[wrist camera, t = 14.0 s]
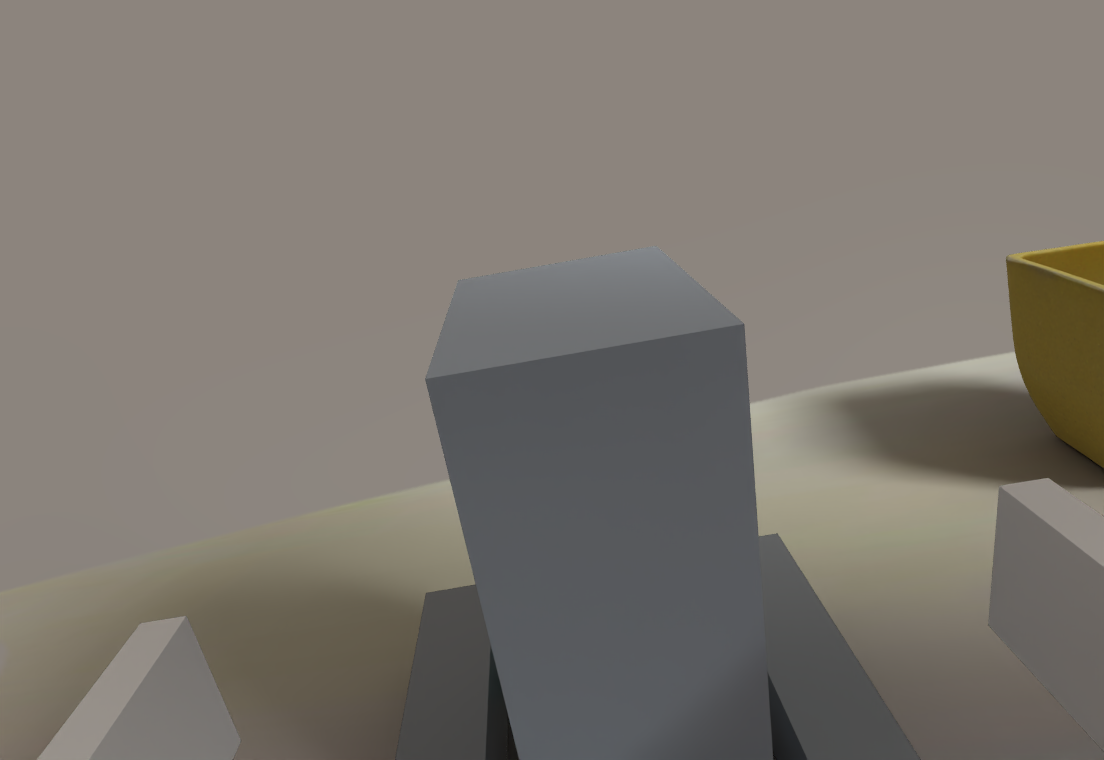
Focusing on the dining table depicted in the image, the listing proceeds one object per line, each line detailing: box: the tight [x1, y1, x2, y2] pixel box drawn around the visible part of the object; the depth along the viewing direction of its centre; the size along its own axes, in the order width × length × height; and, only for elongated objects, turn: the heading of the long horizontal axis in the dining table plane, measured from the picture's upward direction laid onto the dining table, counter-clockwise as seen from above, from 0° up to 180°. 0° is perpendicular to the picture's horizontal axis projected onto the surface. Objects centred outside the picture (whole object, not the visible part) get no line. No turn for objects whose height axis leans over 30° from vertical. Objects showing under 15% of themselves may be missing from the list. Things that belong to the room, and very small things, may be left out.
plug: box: [425, 246, 773, 760], centre depth 17 cm, size 5×8×15 cm, turn 3°
